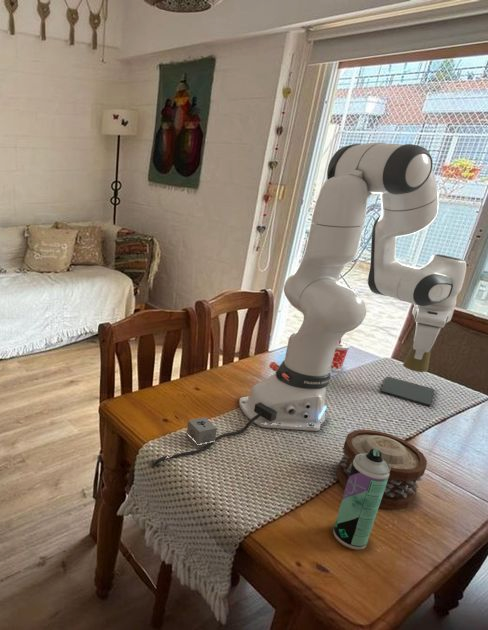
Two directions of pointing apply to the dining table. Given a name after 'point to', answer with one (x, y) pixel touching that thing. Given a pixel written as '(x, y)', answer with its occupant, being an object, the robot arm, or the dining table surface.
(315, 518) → the dining table surface
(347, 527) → the spray can
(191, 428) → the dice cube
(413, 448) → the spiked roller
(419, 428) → the dining table surface
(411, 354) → the olive tapered cylinder
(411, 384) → the plate
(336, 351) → the beverage cup
